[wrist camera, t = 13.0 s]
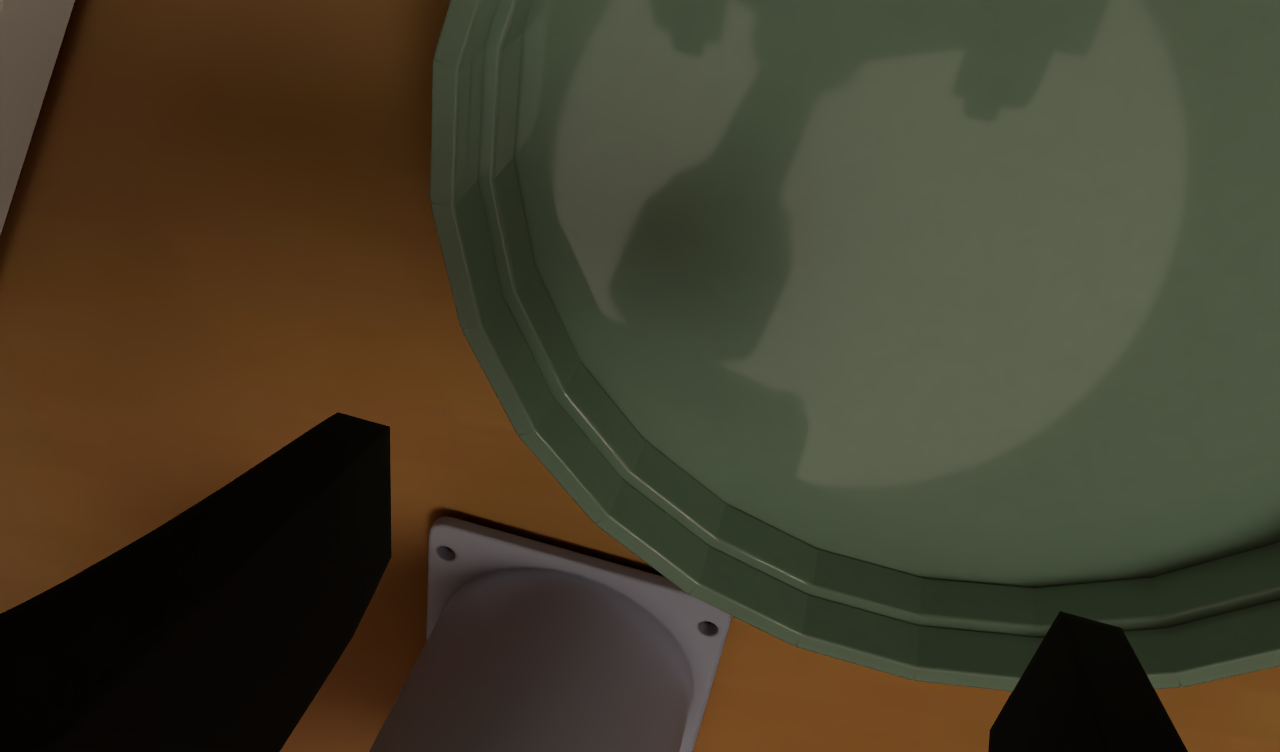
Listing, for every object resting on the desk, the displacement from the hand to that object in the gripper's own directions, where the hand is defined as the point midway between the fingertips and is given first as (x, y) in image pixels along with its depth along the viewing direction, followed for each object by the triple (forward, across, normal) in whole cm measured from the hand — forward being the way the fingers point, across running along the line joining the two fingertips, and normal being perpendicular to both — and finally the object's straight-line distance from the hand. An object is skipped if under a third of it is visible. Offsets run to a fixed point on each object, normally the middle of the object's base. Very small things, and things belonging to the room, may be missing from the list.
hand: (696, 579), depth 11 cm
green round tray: (+10, -4, -1) cm, 11 cm away
